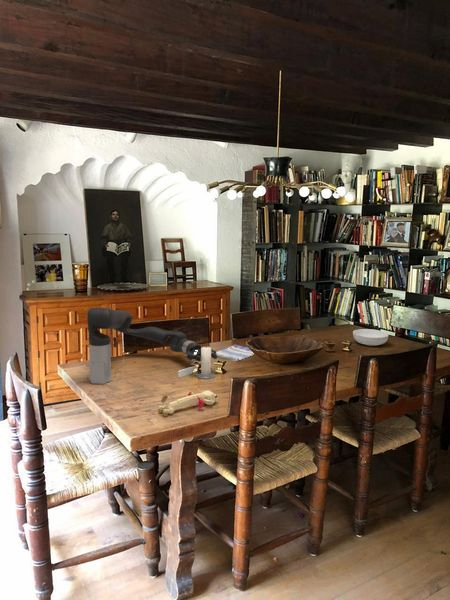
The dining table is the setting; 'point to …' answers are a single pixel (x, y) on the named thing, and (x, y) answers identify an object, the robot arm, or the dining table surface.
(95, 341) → the robot arm
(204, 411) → the dining table surface
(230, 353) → the dish towel
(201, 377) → the coaster
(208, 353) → the candle
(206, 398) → the rope dog toy
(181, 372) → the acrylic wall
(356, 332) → the serving bowl
